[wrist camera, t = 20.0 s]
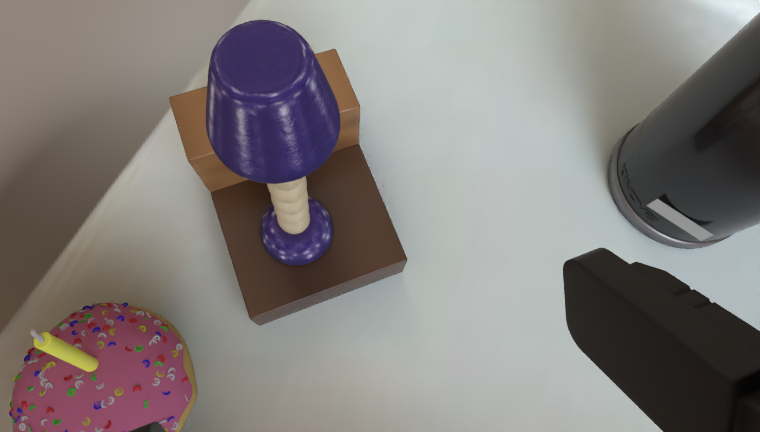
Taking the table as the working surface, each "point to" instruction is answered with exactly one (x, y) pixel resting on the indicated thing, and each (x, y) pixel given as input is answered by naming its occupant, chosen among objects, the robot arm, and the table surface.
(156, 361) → the cupcake
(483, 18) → the table surface
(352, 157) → the tiered shelf
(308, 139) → the toy lamp
